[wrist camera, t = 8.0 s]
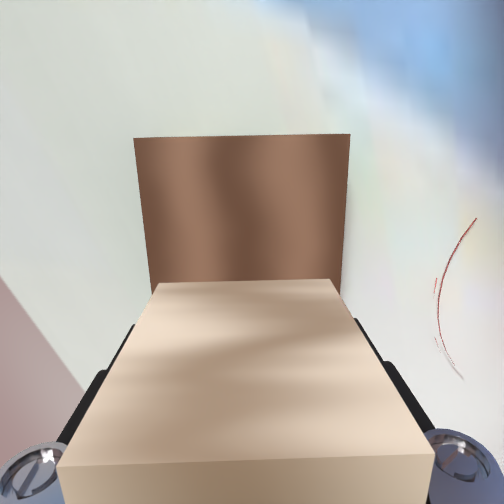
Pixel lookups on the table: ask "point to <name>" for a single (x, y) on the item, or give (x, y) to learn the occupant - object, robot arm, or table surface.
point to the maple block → (247, 406)
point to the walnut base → (243, 207)
